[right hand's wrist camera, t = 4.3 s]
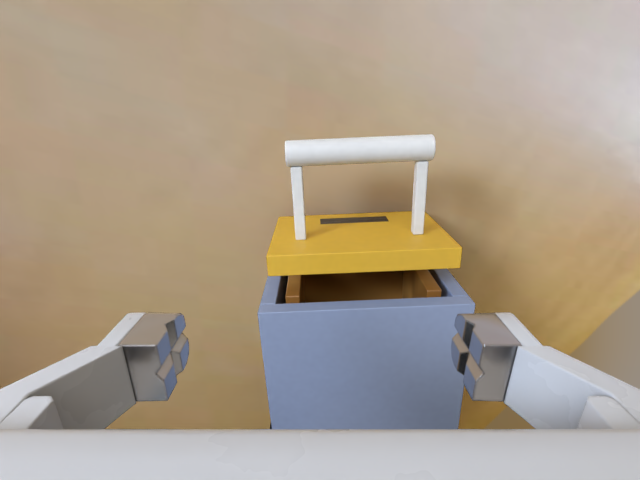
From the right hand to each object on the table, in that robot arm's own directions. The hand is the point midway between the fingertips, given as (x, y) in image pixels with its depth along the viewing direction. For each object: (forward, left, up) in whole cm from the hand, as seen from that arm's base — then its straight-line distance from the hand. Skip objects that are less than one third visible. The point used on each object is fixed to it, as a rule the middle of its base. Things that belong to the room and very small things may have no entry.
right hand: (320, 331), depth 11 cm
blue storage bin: (+12, -3, -15) cm, 20 cm away
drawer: (+6, 0, -14) cm, 16 cm away
